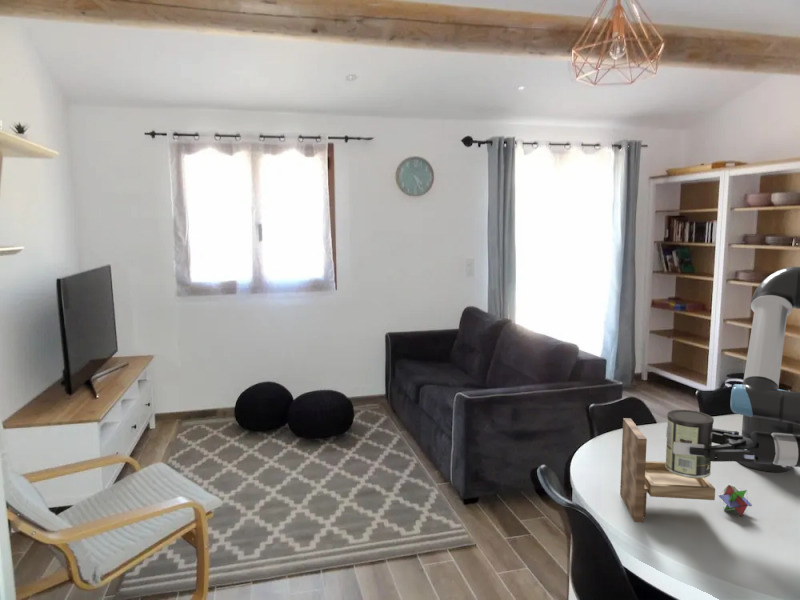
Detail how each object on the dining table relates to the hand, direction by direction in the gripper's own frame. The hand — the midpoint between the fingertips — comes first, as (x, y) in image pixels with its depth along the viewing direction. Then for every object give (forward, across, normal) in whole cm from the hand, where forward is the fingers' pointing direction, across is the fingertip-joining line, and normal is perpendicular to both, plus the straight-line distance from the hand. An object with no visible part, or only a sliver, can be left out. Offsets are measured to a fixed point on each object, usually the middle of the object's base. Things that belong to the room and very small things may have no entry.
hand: (670, 439), depth 139 cm
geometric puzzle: (-17, +7, -21) cm, 28 cm away
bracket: (0, +3, -21) cm, 21 cm away
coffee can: (-4, 0, -8) cm, 9 cm away
